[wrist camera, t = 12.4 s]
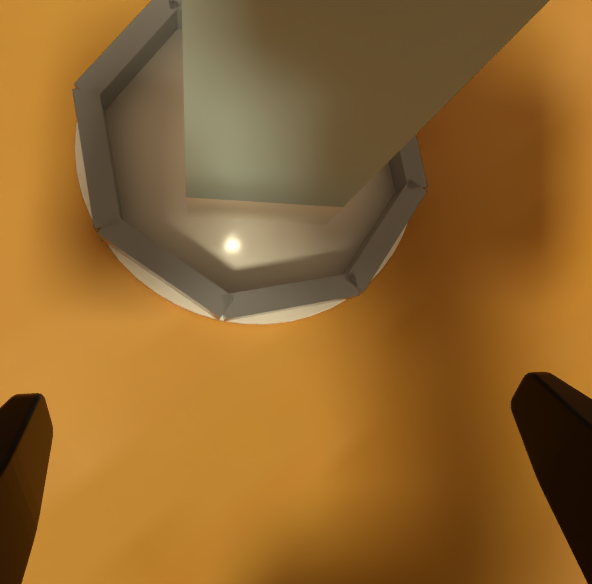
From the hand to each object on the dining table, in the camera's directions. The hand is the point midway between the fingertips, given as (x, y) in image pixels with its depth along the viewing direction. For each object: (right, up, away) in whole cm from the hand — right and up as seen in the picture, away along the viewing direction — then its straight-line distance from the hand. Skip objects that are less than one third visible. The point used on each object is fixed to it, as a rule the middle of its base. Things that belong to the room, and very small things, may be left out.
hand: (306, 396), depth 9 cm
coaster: (-2, +7, +9) cm, 11 cm away
